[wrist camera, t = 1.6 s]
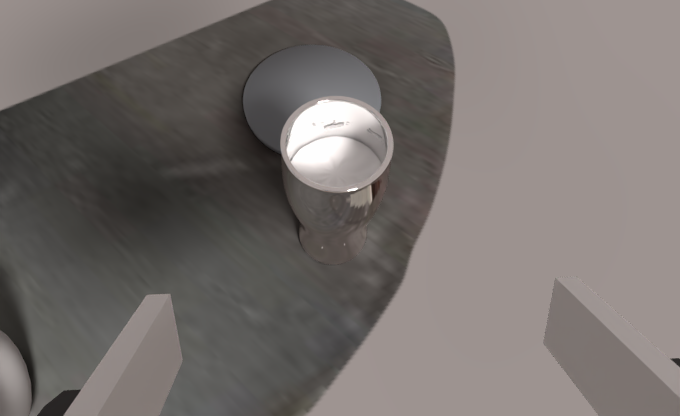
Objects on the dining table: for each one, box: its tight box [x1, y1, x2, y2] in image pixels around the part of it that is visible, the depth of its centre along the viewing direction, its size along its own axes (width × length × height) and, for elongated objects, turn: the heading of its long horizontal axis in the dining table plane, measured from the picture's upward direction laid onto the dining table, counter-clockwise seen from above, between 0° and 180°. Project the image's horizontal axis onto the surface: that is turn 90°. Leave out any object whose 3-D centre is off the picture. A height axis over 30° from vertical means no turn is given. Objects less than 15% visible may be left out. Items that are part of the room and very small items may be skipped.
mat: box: [243, 45, 381, 154], centre depth 43 cm, size 14×14×1 cm
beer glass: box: [280, 96, 393, 265], centre depth 31 cm, size 7×7×15 cm
